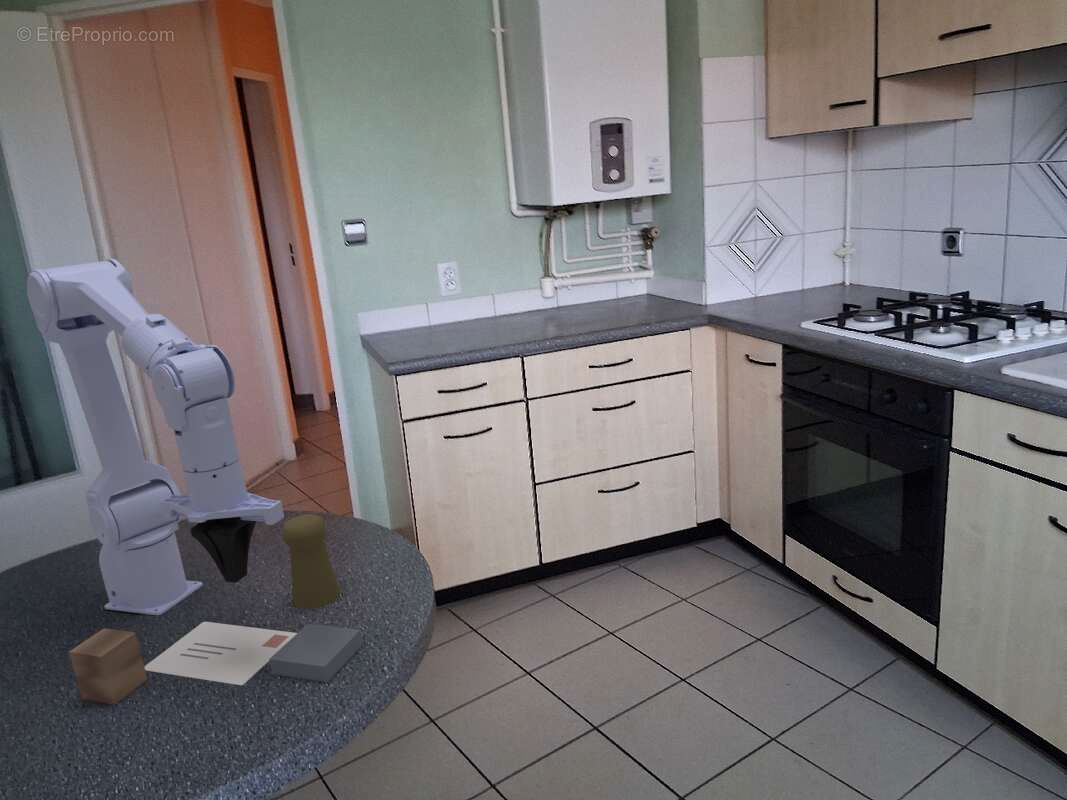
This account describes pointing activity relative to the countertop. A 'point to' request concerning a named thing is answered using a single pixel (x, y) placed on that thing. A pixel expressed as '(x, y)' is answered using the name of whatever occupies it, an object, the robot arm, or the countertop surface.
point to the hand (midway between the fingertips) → (236, 578)
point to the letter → (220, 653)
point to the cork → (310, 562)
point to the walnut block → (108, 666)
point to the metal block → (316, 652)
